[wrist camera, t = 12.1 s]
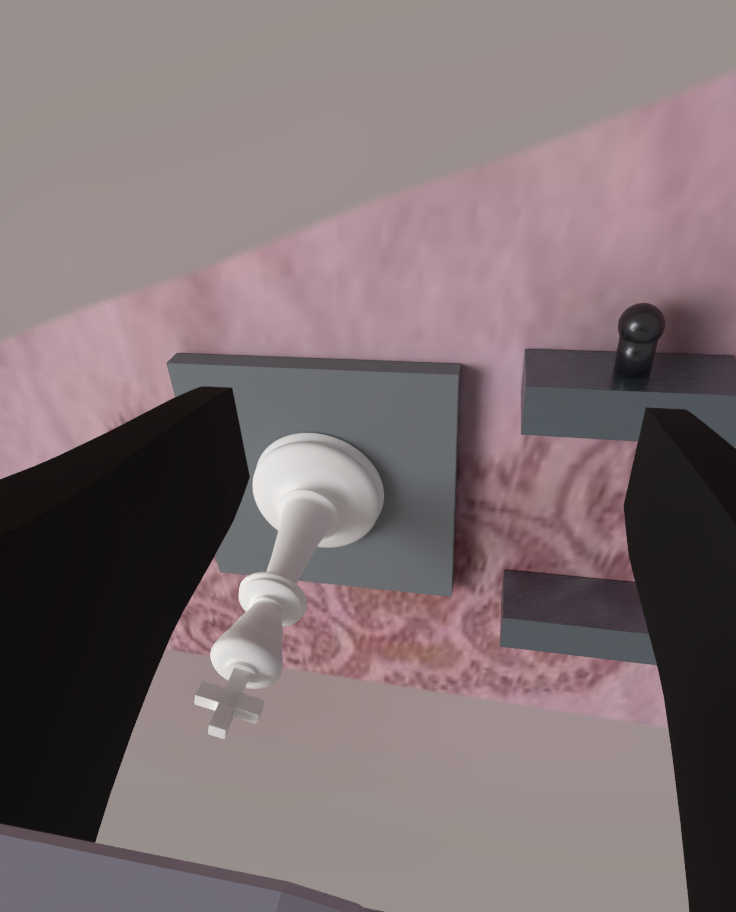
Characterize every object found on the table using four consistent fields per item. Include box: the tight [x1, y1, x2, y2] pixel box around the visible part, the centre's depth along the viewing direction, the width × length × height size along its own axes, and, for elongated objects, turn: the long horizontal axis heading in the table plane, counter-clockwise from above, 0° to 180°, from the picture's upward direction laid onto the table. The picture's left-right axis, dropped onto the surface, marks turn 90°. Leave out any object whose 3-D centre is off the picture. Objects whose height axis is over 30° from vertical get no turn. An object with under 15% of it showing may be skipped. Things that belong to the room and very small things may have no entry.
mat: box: [167, 353, 460, 597], centre depth 24 cm, size 10×10×1 cm
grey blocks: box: [500, 303, 736, 665], centre depth 21 cm, size 6×13×2 cm, turn 3°
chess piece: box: [194, 433, 384, 739], centre depth 20 cm, size 5×5×10 cm
